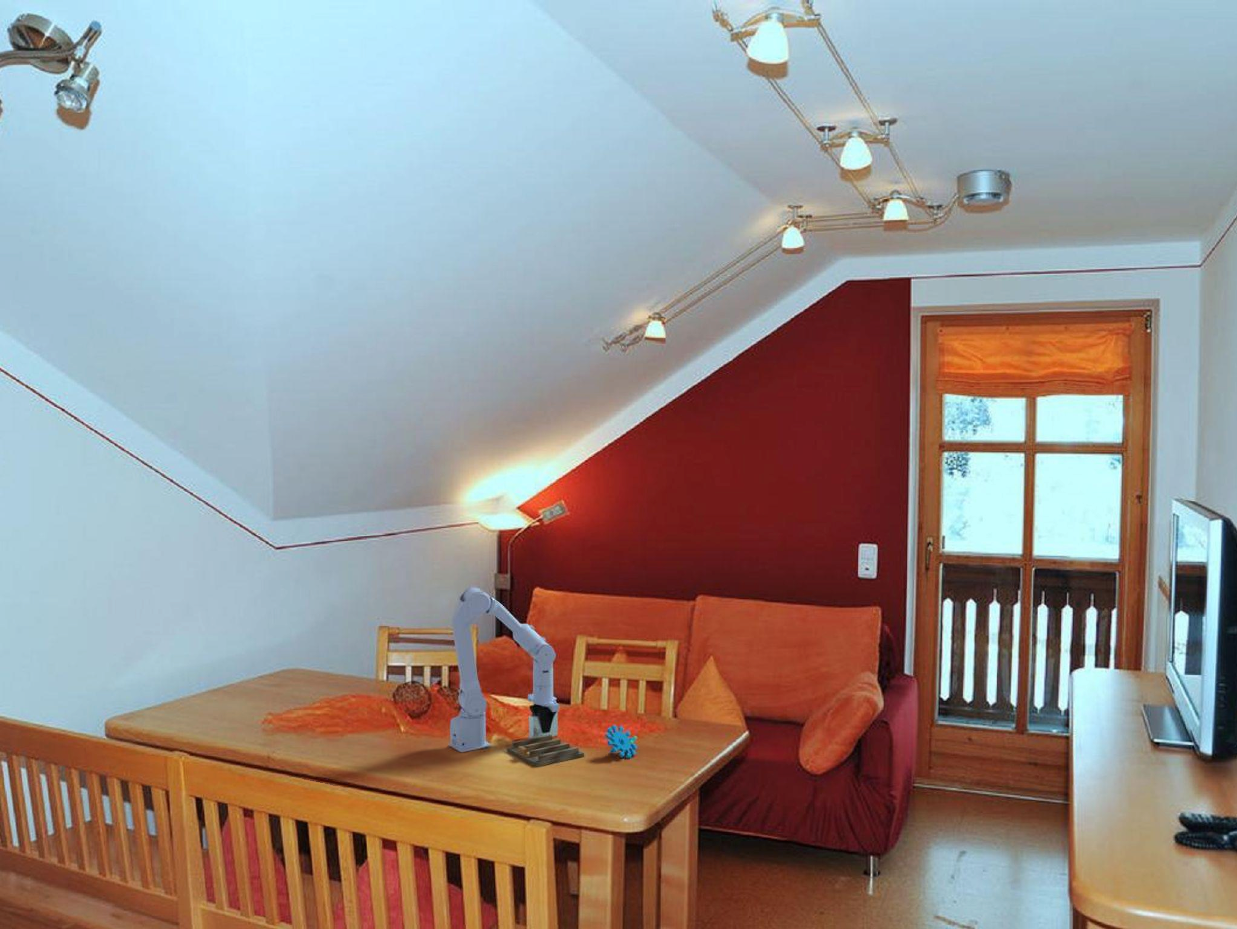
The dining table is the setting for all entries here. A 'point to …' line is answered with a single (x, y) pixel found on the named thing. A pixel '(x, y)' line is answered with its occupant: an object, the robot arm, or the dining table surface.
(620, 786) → the dining table surface
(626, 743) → the gear
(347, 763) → the dining table surface
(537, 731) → the panel
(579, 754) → the slot rack
